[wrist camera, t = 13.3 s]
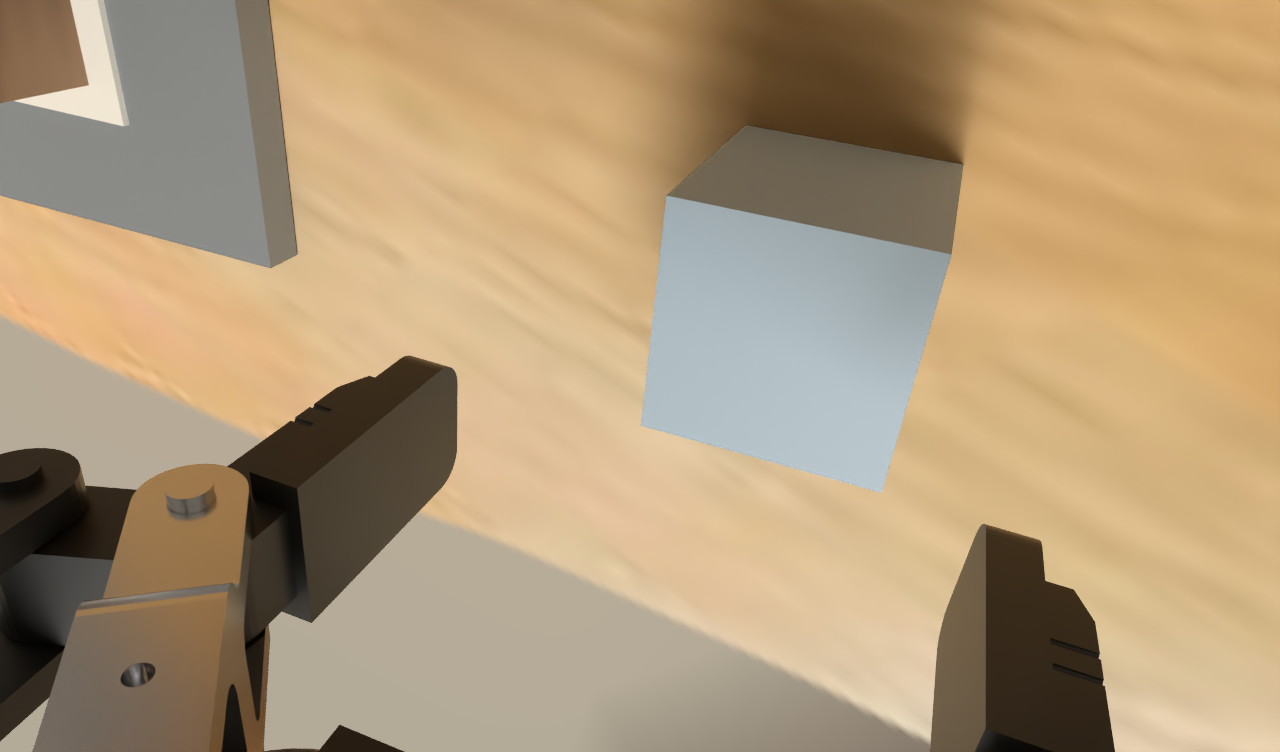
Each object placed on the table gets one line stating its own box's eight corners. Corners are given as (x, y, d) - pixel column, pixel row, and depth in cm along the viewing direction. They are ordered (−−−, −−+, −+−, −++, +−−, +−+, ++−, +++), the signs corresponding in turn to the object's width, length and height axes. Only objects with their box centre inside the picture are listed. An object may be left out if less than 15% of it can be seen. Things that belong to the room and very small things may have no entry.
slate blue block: (745, 124, 21) (666, 195, 16) (963, 163, 19) (951, 254, 14) (717, 313, 23) (640, 425, 18) (908, 358, 22) (881, 493, 17)
